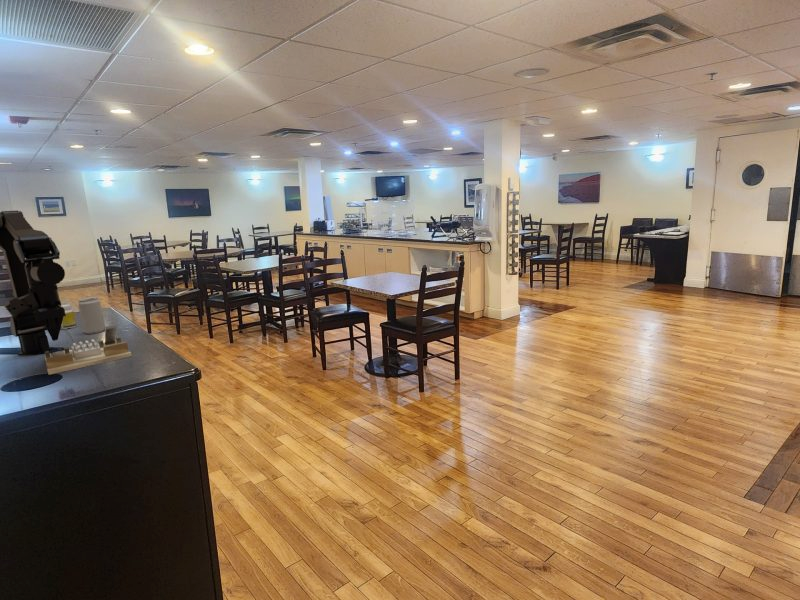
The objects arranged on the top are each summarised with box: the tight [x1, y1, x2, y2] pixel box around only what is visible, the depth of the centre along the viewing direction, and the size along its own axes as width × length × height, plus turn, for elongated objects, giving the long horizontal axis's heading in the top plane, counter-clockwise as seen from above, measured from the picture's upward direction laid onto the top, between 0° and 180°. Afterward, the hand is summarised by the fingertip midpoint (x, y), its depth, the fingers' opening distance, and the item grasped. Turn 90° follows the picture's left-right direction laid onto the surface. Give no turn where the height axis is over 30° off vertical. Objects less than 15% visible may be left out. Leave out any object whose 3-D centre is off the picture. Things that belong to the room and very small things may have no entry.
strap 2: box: [103, 324, 117, 345], centre depth 139 cm, size 12×3×1 cm
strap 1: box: [50, 350, 64, 357], centre depth 131 cm, size 12×3×1 cm, turn 38°
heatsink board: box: [43, 336, 132, 376], centre depth 135 cm, size 20×19×4 cm
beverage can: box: [77, 296, 106, 335], centre depth 165 cm, size 6×6×12 cm
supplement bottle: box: [60, 304, 77, 330], centre depth 175 cm, size 5×5×8 cm
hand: (55, 340), depth 127 cm, fingers closed
